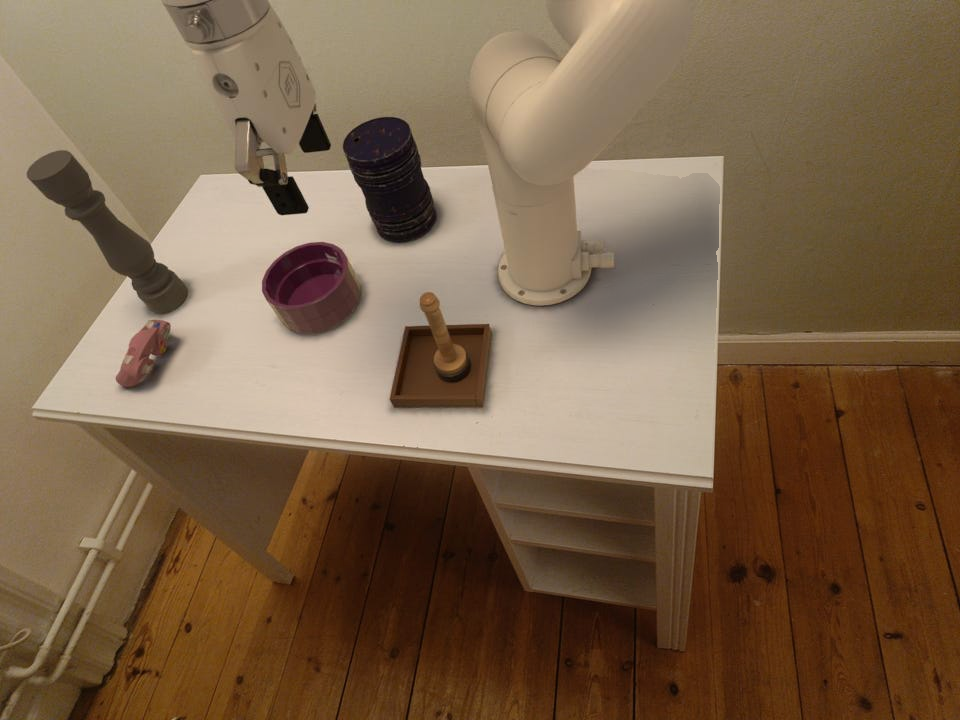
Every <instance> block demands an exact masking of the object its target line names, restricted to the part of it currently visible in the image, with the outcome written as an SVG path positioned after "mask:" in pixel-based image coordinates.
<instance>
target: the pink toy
mask: <svg viewBox="0 0 960 720" xmlns="http://www.w3.org/2000/svg"><path fill="white" fill-rule="evenodd" d="M170 333H171V323H170V322H169V321H167V320H163V319H149V320H147V322H146V323H145V324H144V325H143V327H142V328H141V329H140V330H139V331H138V332H136V333H134V335H133V336H132V337H131V338H130V340H129V343H128V348H127V351H126V353H125V356H124V357H123V359H122V362H121V365H120V369H119V372H118V373H117V374H116V375H115V381H116V383H117V384H118V385H119V386H121V387H124V388H133V387H135V386H136V385H138V384H139V383H140V381H142V380H143V379H144V378H145V377H146V376H151V375H152V373H153V372H154V370H155V368H156V361H155V360H154V359H152V358H150V356H155V357H159V358H161V357H162V356H163V355H164V353H165V352H166V351H167V341H168V338H169V336H170Z"/></svg>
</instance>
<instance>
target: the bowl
mask: <svg viewBox="0 0 960 720" xmlns="http://www.w3.org/2000/svg"><path fill="white" fill-rule="evenodd" d="M349 260H350V259H349V258H348V256H347V255H346V253H345V252H344V250H343V249H342V248H340V247H339V246H337V244H334V243H331V242H325V241H314V242H312V241H311V242H306V243H303V244H300V245H296V246H294V247H293V248H291V249H288V250H287V251H285V252H283V253H282V254H280V255H279V256H277V258H275V259H274V260H273V262H272V263H271V264H270V265H269V267H268V268H267V269H266V271H265V273H264V275H263V278H262V280H261V293H262V294H263V297H264V299H265V300H266V302H267V303H268V305H269V306H270V308H271V309H272V310H273V312H274V313H275V315H276V316H277V318H278V319H279V320H280V322H281V324H282V325H284V326H285V327H286V328H287V329H289V330H290V331H292V332H295V333H299V334H317V333H321V332H324V331H325V332H326V331H328V330H330V329H332V328H334V327H336V326H338V325H340V324H341V323H343V321H345V320H346V319H347V318H348V317H350V315H351V314H352V313H353V312H354V310H355V308H357V305H359V303H360V302H359V301H360V297H361V295H362V290H361V283H360V280H359V279H358V276H357V275H356V273H355V271H354V268H353V266H352V264H351V262H350V261H349Z"/></svg>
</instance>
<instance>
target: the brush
mask: <svg viewBox="0 0 960 720" xmlns="http://www.w3.org/2000/svg"><path fill="white" fill-rule="evenodd" d="M419 309H420V310H421V311H422V312H423V313H424V316H425V318H426V321H427V323H428V326H430V329H431V331H432V334H433V336H434V339H435V341H436V344H437V346H438V350H437V352H436V353H435V356H434V367H435V370H436V372H437V375H438V376H439V378H440V379H442V380H443V381H445V382H458V381H460V380H462V379H464V378H465V377H466V376H467V375H468V373H469V372H470V369H471V363H470V359H469V356H468V354H467V353H466V352H465V350H464V349H463V348H462V347H461V346H459V345H457V344H453V343H452V340H451V338H450V335H449V332H448V329H447V326H446V325H447V323H446V321H445V318H444V316H443V313H442V310H441V302H440V299H439V297H438V296H436V294H435V293H434V292H431V291H426V292H424V293H422V294H421V295H420V296H419Z"/></svg>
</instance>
